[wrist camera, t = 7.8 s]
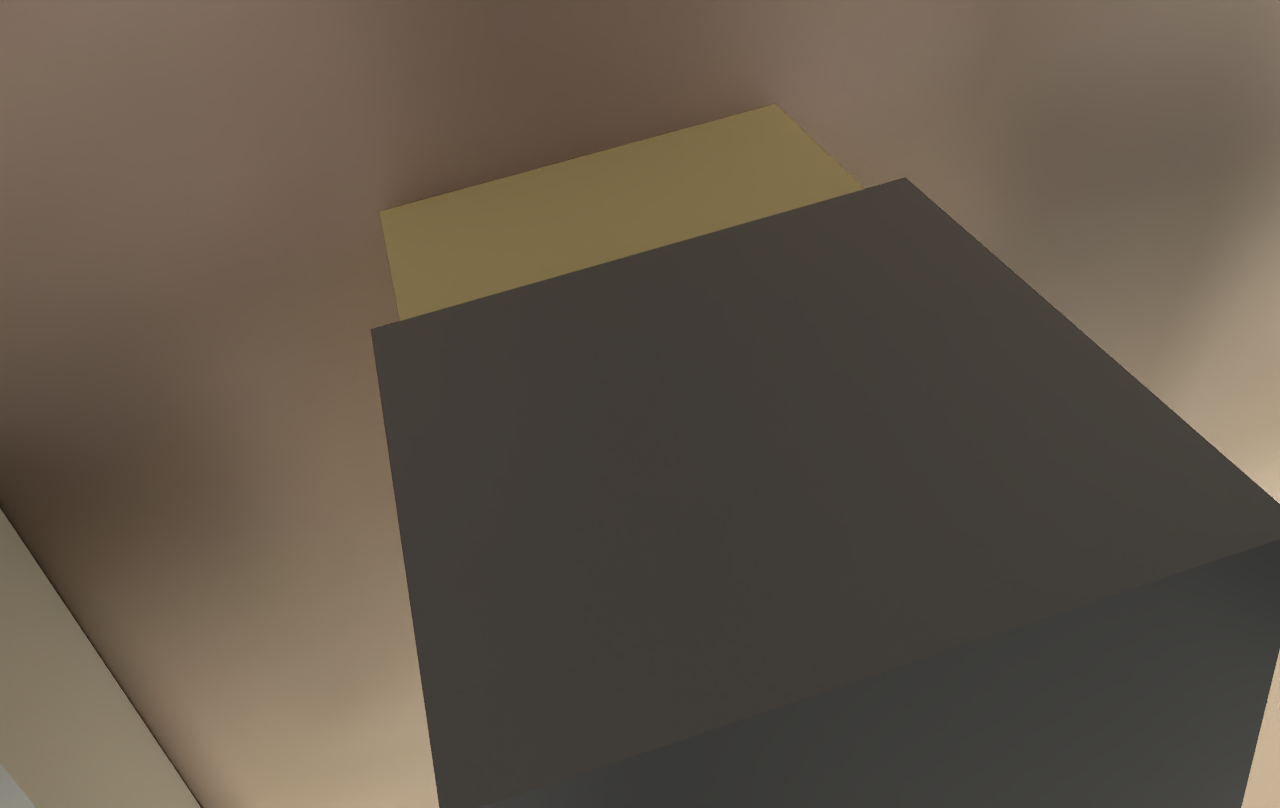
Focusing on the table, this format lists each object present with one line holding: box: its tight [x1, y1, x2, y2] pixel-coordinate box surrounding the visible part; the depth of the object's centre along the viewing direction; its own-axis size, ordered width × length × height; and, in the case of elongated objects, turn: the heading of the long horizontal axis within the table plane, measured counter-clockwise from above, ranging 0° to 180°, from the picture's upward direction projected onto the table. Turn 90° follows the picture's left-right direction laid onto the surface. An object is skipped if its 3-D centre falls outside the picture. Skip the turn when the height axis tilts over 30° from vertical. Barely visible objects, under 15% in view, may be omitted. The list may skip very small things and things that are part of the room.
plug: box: [371, 104, 1280, 808], centre depth 10 cm, size 4×4×7 cm
